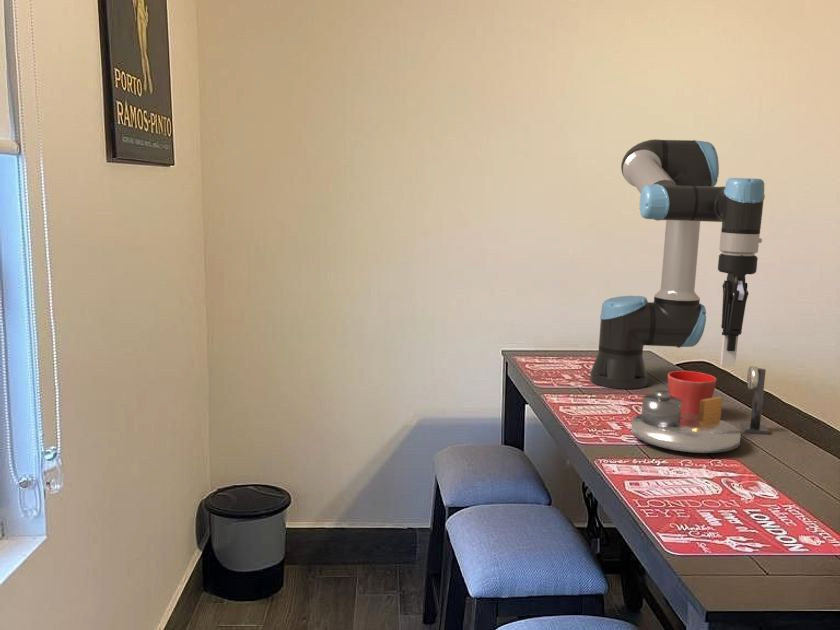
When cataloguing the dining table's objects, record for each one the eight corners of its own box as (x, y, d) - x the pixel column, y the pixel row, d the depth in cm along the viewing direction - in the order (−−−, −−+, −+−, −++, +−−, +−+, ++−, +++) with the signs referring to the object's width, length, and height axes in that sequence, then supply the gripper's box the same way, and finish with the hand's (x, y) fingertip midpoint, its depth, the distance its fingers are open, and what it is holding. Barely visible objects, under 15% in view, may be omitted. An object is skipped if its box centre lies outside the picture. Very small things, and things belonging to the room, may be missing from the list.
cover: (633, 419, 181) (635, 390, 180) (658, 414, 185) (660, 386, 184) (662, 429, 174) (665, 399, 173) (687, 423, 179) (690, 394, 177)
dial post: (740, 426, 189) (746, 363, 187) (763, 427, 188) (770, 365, 186) (745, 432, 184) (751, 368, 182) (769, 434, 184) (775, 370, 181)
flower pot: (716, 424, 190) (720, 383, 188) (666, 420, 192) (669, 379, 190) (709, 412, 200) (713, 372, 199) (662, 408, 202) (665, 369, 201)
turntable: (609, 429, 180) (611, 397, 179) (676, 415, 192) (678, 385, 191) (694, 459, 162) (697, 424, 161) (762, 442, 174) (765, 409, 173)
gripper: (765, 257, 165) (753, 373, 169) (750, 251, 178) (739, 359, 182) (725, 255, 166) (715, 371, 170) (713, 250, 179) (703, 357, 183)
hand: (727, 365), depth 176 cm, fingers closed
